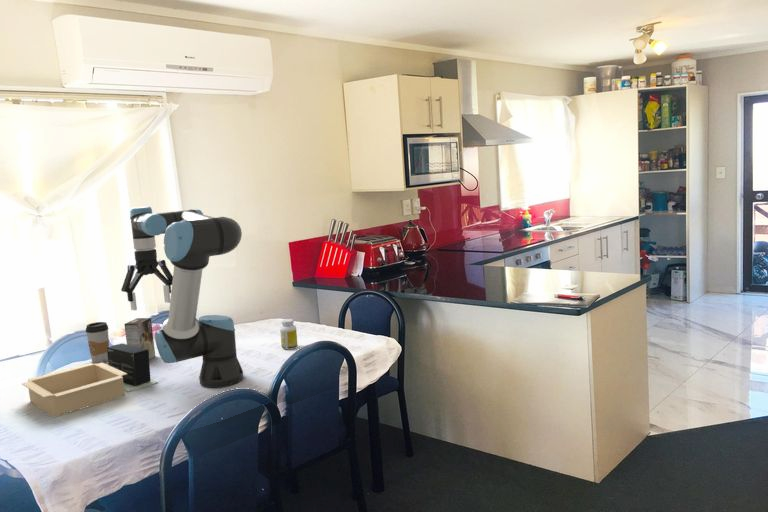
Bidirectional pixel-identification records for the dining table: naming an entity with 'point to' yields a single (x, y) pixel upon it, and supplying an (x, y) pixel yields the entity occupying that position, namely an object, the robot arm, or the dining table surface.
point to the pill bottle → (288, 334)
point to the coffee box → (140, 334)
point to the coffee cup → (98, 341)
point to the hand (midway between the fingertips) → (151, 306)
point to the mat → (131, 387)
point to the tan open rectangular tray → (76, 388)
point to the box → (130, 362)
